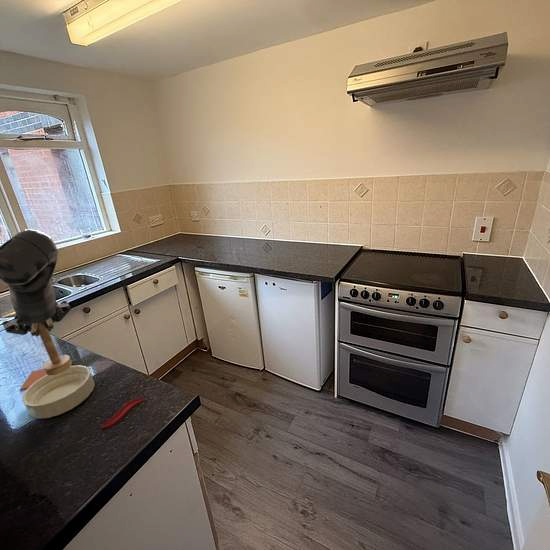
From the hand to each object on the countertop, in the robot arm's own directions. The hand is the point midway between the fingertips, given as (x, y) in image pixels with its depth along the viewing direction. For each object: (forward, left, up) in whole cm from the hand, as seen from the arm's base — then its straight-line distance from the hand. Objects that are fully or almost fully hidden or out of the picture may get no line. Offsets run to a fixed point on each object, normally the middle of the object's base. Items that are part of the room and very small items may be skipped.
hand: (42, 330), depth 78 cm
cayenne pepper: (+16, -13, -23) cm, 30 cm away
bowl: (-2, +1, -23) cm, 23 cm away
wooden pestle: (+1, -2, -11) cm, 11 cm away
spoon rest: (-12, +15, -23) cm, 30 cm away
